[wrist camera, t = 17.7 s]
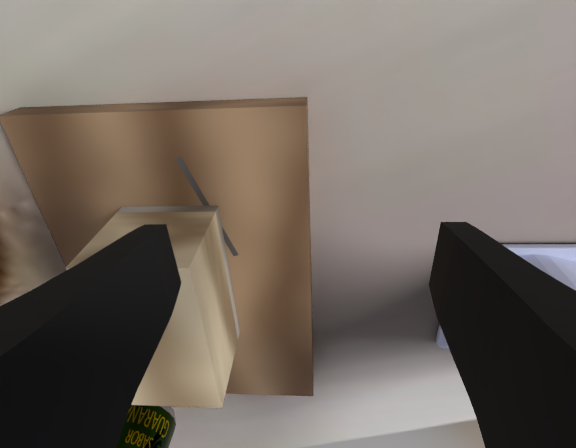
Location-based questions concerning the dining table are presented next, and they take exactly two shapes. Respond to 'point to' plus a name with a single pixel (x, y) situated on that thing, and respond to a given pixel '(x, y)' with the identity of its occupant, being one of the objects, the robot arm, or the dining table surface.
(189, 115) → the board
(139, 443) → the guarana soda can
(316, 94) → the dining table surface
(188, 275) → the block
